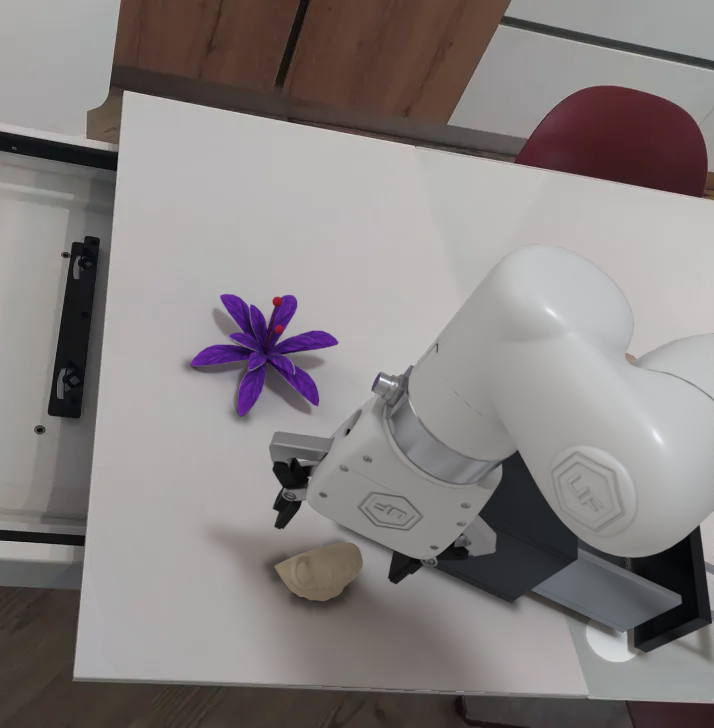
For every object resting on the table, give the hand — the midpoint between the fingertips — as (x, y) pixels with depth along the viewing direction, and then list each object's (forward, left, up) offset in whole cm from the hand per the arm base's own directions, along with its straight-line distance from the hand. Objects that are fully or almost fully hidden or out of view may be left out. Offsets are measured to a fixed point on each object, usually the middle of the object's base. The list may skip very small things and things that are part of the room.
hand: (338, 539), depth 58 cm
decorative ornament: (0, 0, -7) cm, 7 cm away
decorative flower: (+11, -20, -7) cm, 24 cm away
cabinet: (-10, -12, -7) cm, 17 cm away
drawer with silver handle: (-27, -12, -6) cm, 30 cm away
